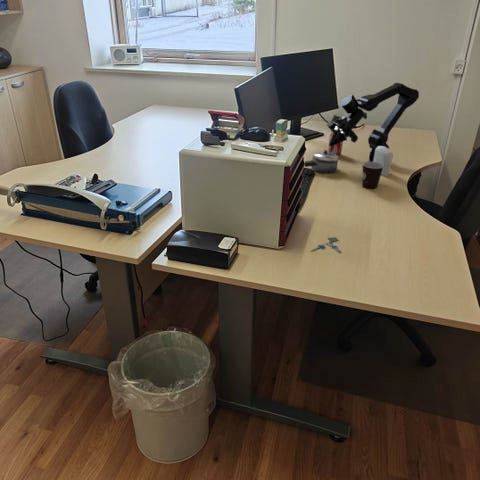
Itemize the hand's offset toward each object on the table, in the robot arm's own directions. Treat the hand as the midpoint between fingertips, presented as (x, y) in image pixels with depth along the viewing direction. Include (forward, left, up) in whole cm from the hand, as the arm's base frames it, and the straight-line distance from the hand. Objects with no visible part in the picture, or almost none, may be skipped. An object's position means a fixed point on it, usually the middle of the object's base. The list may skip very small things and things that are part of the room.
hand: (329, 145), depth 208 cm
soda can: (+3, -23, -12) cm, 26 cm away
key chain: (-24, +72, -12) cm, 77 cm away
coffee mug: (-23, +11, -12) cm, 28 cm away
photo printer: (-24, -8, -12) cm, 28 cm away
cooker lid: (+1, +1, -6) cm, 6 cm away
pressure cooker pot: (+3, +4, -11) cm, 13 cm away
